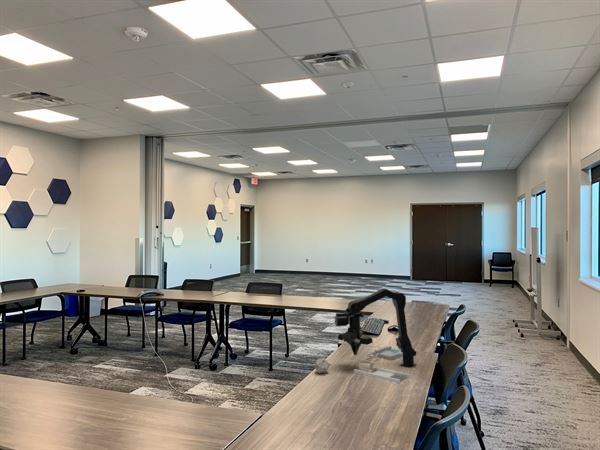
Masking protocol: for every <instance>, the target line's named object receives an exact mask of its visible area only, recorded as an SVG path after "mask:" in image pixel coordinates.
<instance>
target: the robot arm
mask: <svg viewBox="0 0 600 450" xmlns="http://www.w3.org/2000/svg"><path fill="white" fill-rule="evenodd" d="M383 298H389V299H391V301H392V304H393V306H394V308H395V313H396V321H397V330H398V336H397V337H396V338H395V341H396V344H395V346H397V348H398V350H401V352H402V353H403V357H402V363H401V364H400V366H401V367H407V368H413V367H416V366H417V363H415V360H414V359H415V357H416V356H417V351H416V350H415V348H413V345H412V342H411V339H410V338H409V335H408V329H407V328H408V327H407V319H406V311H405V308H406V304H407V296H406V295H405V293H402V292H399V291H395V292H394V291H391V290H389V289H387V288H385V287H384V288H381V289H379V290H377V291H376V292H374V293H373V292H372V293H371V294H369V295H367V296H365V297H363V298H360V299H359V298H358V299H355V300H352V301H349V302H348V305H347V308H346V309H345V311H344V312H342V313H341V312H336V313H335V316H334V317H335V318H334V325H335V327H347V326H348V325H349V326H348V327H347V331H346V332H342V333H339V334H338V336H337V340H338V341H343V342H346V343H348V344H349V346H350V348H351V351H352V352H353V355H354V356H356V355H357V354H358V352H359V350H360V347H361V346H362V345H365V346H366V345H367V346H368V345H370V344H373V337H370V336H364V337H362V335H363V334H361V330H362V328H363V327H362V326H361V318H364V315H363V313H361V312H362V311H363V310H364V309H365V308H366V307H367V306H369V305H371V304H373V303H375V302H377V301H379V300H382V299H383Z"/></svg>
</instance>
